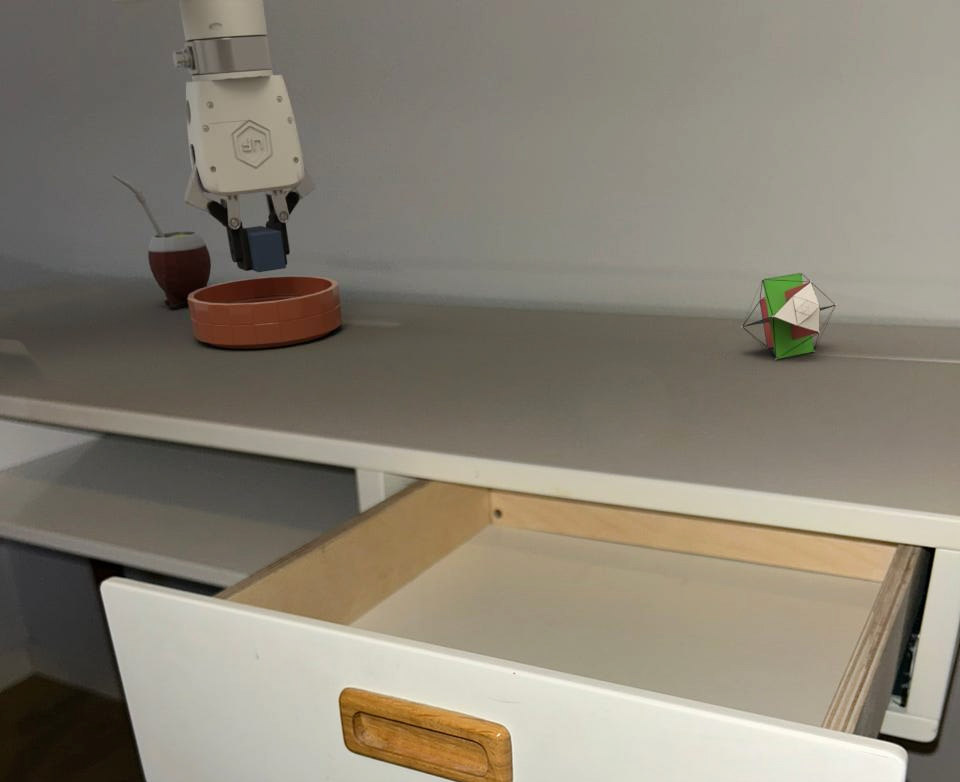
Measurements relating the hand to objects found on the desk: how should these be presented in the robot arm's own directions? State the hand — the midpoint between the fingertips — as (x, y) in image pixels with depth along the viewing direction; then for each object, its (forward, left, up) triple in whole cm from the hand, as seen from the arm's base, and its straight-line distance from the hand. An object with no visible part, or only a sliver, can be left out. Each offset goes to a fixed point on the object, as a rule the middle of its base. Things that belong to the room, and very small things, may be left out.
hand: (262, 264), depth 109 cm
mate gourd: (-3, +23, -7) cm, 24 cm away
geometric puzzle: (+33, -41, -7) cm, 53 cm away
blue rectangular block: (0, 0, 0) cm, 0 cm away
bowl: (0, 0, -7) cm, 7 cm away
